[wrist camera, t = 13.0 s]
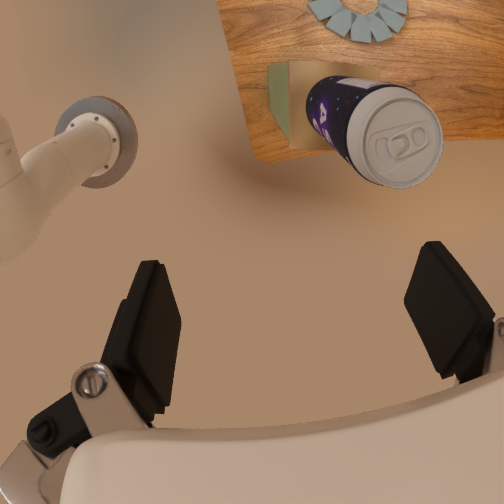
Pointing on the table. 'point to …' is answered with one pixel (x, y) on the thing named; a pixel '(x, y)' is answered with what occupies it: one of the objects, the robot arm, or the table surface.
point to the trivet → (361, 19)
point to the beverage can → (377, 129)
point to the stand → (305, 96)
